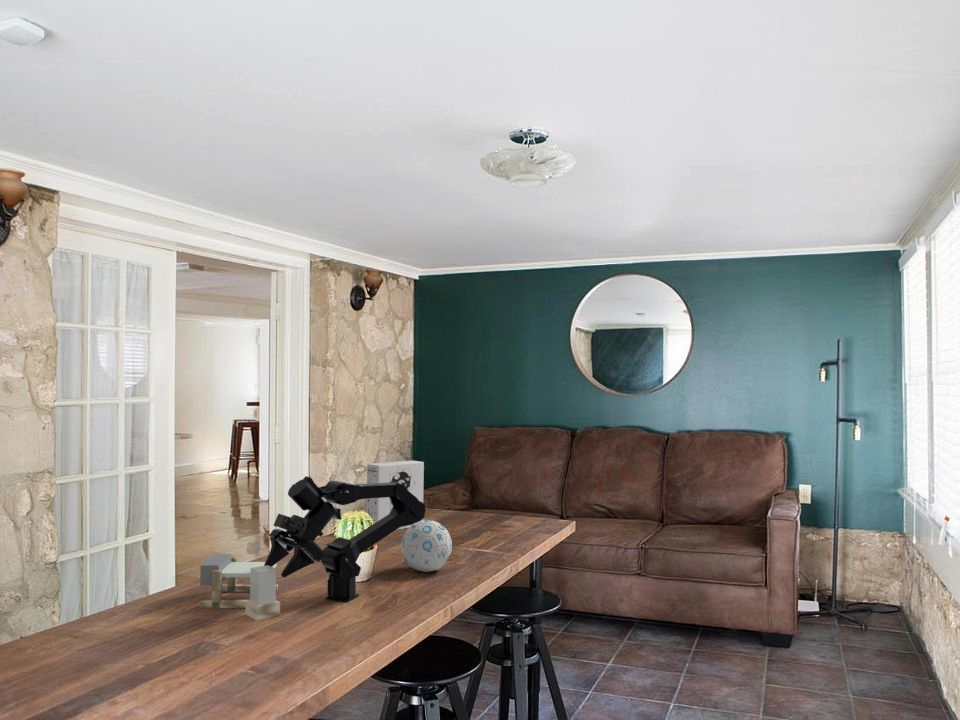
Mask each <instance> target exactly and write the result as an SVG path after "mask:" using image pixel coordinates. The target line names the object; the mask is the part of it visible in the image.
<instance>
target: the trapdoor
mask: <svg viewBox="0 0 960 720" xmlns="http://www.w3.org/2000/svg"><path fill="white" fill-rule="evenodd" d="M265 562H266V561H237V562H232V554H231V553H229V554H227V553H226V554H223V553H222V554H216V553H215V554H213V555H212V556H211V557H209V558H207V560H206V561H204V562H202V564H200V569H199V571H200V572H199V573H200V574H199V575H200V577H199V578H200V579H199V580H200V581H199V586H212V571H213V570H222V583H223V582H224V581H225V580H226V579H228V577H237V578H250V571H251V568H254V567H260V566H264V564H265ZM277 566H278V562H277V563H276V564H275V565H273V566H272V567H273V568H276V567H277Z"/></svg>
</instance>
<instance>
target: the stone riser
mask: <svg viewBox="0 0 960 720" xmlns="http://www.w3.org/2000/svg"><path fill="white" fill-rule="evenodd" d="M244 611H245V613H244V614H245V616H247V617H249V618H251V619H252V620H255V621H261V620H262V621H263V620H266V619H270V618H275V617H280V616H281V602H280V601H278V600H276V602H274V603H269V604H264V605H259V606H258V605H256V604H254V603H252V602H250V601H246V607H245V609H244Z"/></svg>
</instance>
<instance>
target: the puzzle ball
mask: <svg viewBox="0 0 960 720" xmlns="http://www.w3.org/2000/svg"><path fill="white" fill-rule="evenodd" d="M452 549H453V541H452V538H451V535H450V532H449V531H448V530H447V528H446V527H445V526H444V525H443V524H441V523H439V522H438V521H435V520H430V519H429V520H428V519H423V521H419V522H417V523H415V524H413V525H412V526H410V527H409V528H407V529H406V531H405V533H403V536H402V540H401V553H402V556H403V558H404V560H405V563H407V564H408V565H409V566H410V567H411V568H412V569H415V570H417V571H420V572H423V573H429V572H433V571H437V570H438V569H440V568H442V567H443V566H444V565H446V563H447V562H448V560H449V558H450V556H451V554H452Z"/></svg>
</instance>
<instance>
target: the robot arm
mask: <svg viewBox="0 0 960 720" xmlns="http://www.w3.org/2000/svg"><path fill="white" fill-rule="evenodd" d="M287 495H288V497H289V498H290V499H292V501H293V502H294V503H295V504H296V505H297V506H298V507H299V508H300V509H301V510H302V511H307V513H306V514H305V515H304V516H300V515H297V514H293V515H292V516H287V515H285V514H281V513H278V514H277V516H276V519H275V521H274V522H273V526H274V527H276V528H274V529H272V531H271V532H270V533H269V534H268V536H269V541H270V544H271V547H270V550H269V553H268V556H267V558H266V560H265V561H264V562H265V564H264V566H266V565H268V566H271V567H272V566H273V565H275V564H276V563H277V564H278V562H280V561H281V560H283V559H284V558H285V557H287V556H289V554H290V551H292V550H293V556H292V557H291V558H290V559H289V561H288V563H287V564H286V566H285V567H284V569H283V570H282V572H281V574H280V576H281V577H282V578H287V577H288V576H290V575H292V574H294V573H296V572H298V571H299V570H301V569H303V568H305V567H308V566H310V565H314V564H315V563H316V562H317V563H321V565H322V566H323V567H324V569H325V572H326V573H327V574H328V579H327V586H326V587H327V589H326V590H327V591H326V593H327V596H326V597H325V598H324V599H325V600H328V601H333V602H334V601H335V602H344V603H347V602H349V601H352V600H354V599H355V598H357V597H359V595H360V594H359V593H356V591H357V589H356V588H357V587H356V584H357V581H356V579H357V577H359V575H360V573H361V569H362V568H361V566H360V565H359V564H358V563H357V561H358V559H359V557H360V555H361V554H362V553H364V552H365V551H366V550H369V548H371V547H373V546H374V545H376V544H377V543H378V542H380V541H381V540H383V539H384V538H386V537H388V536H389V535H390V534H392V533H394V532H395V531H398V530H397V529H398V528H400V527H403V526H408V525H412V524H414V523H417V522H419V521H421V520H422V519H423V520H424V518H425V515H426V505H425V504H424V502H423V503H422V502H421V501H419V500H418V499H417V498H416V497H415V496H414V495H413V494H412V493H410V492H409V491H408V490H407V489H406V487H405V486H404V485H403V484H402V483H397V482H388V483H370V484H367V483H352V482H351V483H350V482H346V481H345V482H344V481H343V482H342V481H338V480H330V481H328V482H327V483H326V484H325V485H324V486H323V485H322V486H318V485H317V484H316V483H315V482H314V479H312V477H311V476H308V475H307V476H304V477H303V478H302V479H300V480H298V481H297V482H295V483H293V484H292V485H291V486H290V488H289V489H288V491H287ZM385 497H389V498H390V501H391V504H392V505H393V508H392V510H391V512H390V513H389V514H388V515H387V516H385V517H384V518H382V519H381V520H379V521H377V522H376V523H374V524H373V525H371V526H370V527H368V528H367V529H366V528H365V529H363V530H361V532H358V533H357V534H356V535H354V536H352V537H351V538H350V539H348V538H343V537H341V536H339V537H336V538H335V539H334V540H333V541H332V542H329V543H326V544H325V545H326V546H325V547H324V548H321V547H320V545H319V544H318V543H316V542H315V540H316V539H317V538H318V537H323V535H324V533H323V530H324V529H325V527H327V526H328V524H329V522H331V521H332V519H335V520H339V521H340V520H342V514H341V508H338V507H335V506H334V504H335V505H339V506H340V505H341V506H347V505H349V504H353V503H357V502H358V501H359V500H367V499H370V498H385Z"/></svg>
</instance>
